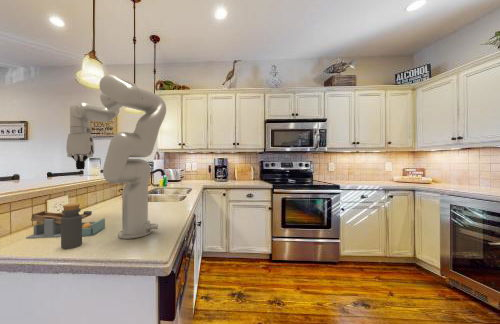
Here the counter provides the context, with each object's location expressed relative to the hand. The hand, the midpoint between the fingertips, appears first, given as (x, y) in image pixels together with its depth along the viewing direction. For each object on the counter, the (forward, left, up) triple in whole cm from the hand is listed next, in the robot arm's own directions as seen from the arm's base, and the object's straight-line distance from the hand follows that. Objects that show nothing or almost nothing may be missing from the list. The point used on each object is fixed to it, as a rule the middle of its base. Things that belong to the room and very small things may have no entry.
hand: (80, 169), depth 103 cm
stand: (+2, +14, -27) cm, 30 cm away
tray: (-10, +14, -27) cm, 32 cm away
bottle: (-13, +29, -27) cm, 41 cm away
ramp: (+2, +9, -23) cm, 24 cm away
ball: (-10, +14, -24) cm, 30 cm away
